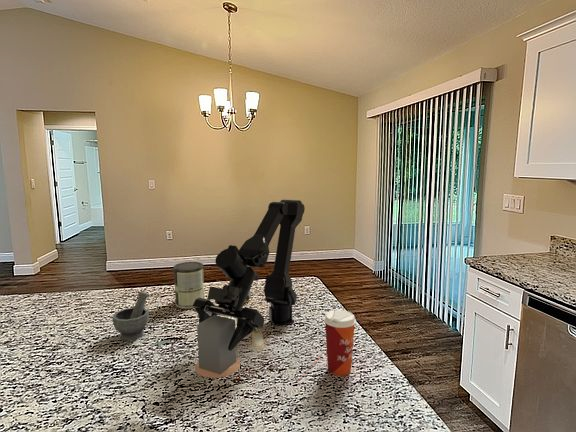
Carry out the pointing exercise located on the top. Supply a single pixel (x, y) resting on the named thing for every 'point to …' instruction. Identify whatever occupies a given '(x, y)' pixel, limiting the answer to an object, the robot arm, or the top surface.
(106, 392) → the top surface
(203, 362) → the grey tall block
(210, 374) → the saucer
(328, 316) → the paper cup
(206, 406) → the top surface
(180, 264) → the coffee can
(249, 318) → the robot arm
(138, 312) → the mortar and pestle
